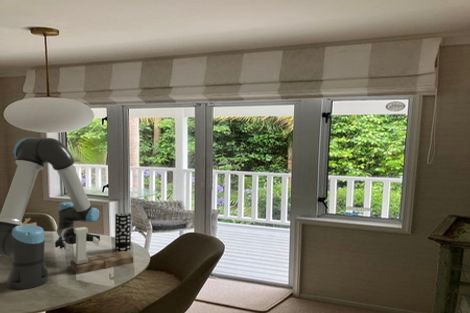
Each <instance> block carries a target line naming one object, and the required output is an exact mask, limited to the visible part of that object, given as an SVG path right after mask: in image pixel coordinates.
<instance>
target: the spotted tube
mask: <svg viewBox="0 0 470 313" xmlns="http://www.w3.org/2000/svg"><path fill="white" fill-rule="evenodd" d="M114 220H115V221H114V223H115V224H114V228H115V229H114V231H115V232H114V234H115V235H114V251H115V252H121V251H125V252H126V253H127V252H129V251H131V250H130V249H132V246H131V245H132V244H131V243H132V242H131V241H132V236H131V235H132V213H129V212H120V213H115V217H114Z"/></svg>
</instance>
